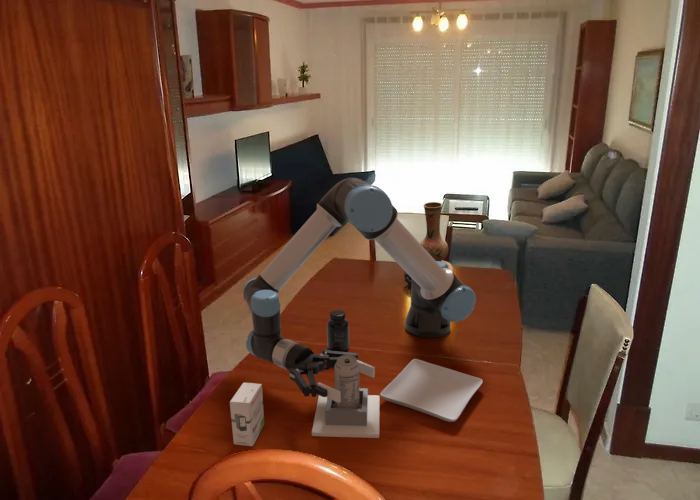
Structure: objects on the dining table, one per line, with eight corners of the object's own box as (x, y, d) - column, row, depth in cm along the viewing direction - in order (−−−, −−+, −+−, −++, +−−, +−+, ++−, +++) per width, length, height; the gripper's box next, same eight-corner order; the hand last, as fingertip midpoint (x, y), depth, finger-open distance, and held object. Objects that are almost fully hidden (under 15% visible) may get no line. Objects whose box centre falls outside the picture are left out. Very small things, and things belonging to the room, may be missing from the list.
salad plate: (455, 431, 129) (455, 419, 127) (377, 404, 139) (378, 393, 138) (483, 389, 146) (484, 378, 144) (413, 368, 156) (413, 357, 155)
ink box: (246, 422, 132) (242, 380, 129) (265, 424, 131) (262, 382, 128) (232, 444, 124) (228, 401, 121) (253, 447, 123) (249, 403, 120)
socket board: (379, 398, 141) (379, 382, 140) (379, 437, 126) (379, 420, 124) (319, 397, 142) (318, 380, 140) (311, 436, 127) (311, 418, 125)
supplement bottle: (352, 345, 169) (352, 310, 165) (343, 355, 163) (343, 319, 159) (333, 340, 172) (332, 306, 168) (323, 350, 166) (322, 315, 162)
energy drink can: (356, 404, 137) (356, 352, 132) (361, 418, 131) (361, 365, 127) (333, 407, 136) (332, 354, 131) (337, 421, 130) (336, 367, 126)
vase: (390, 289, 212) (392, 203, 201) (417, 273, 229) (419, 192, 218) (445, 303, 199) (449, 212, 188) (468, 284, 216) (474, 200, 205)
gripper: (324, 351, 152) (386, 375, 139) (259, 390, 133) (323, 423, 121) (324, 327, 149) (386, 350, 137) (257, 364, 131) (323, 394, 118)
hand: (357, 384), depth 129 cm, fingers open, 13 cm apart
